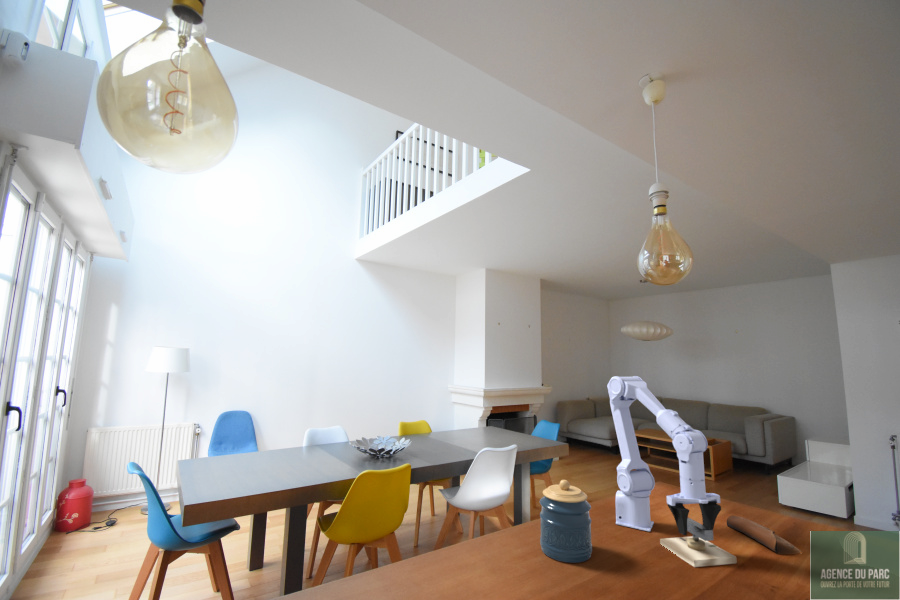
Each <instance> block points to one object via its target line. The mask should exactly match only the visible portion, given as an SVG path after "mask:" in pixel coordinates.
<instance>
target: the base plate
mask: <svg viewBox="0 0 900 600" xmlns="http://www.w3.org/2000/svg"><path fill="white" fill-rule="evenodd" d="M659 544H661V545H662V546H661V545H660V546H661V547H663V546H664V547H665V549H666V548H667V549H668V550H667V549H666V550H667V551H669V550H670V551H671V553H672V552H673V553H672V554H673V555H675V554H676V556H677V557H678V558H680V559H681V560H682V561H684V562H686V563H688V565H690V566H692V567H693V568H699V567H711V566H713V567H714V566H721V565H723V566H724V565H733V564H734V565H735V564H737V563H738V561H737V556H735V555H734V554H732V553H730V552H728V551H727V550H725V549H723V548H721V547H720V546H717V545H716V544H714V543H712V542H710V541H705V540H703V539H701V538H699V541H694V540H693V535H692V536H691V535H690V536H683V537H682V536H681V537H680V536H679V537H665V538H659ZM664 547H663V548H664ZM670 551H669V552H670Z"/></svg>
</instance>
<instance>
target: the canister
mask: <svg viewBox="0 0 900 600" xmlns="http://www.w3.org/2000/svg"><path fill="white" fill-rule="evenodd" d="M542 494H543V496H541V498H540V499H539V504H540V506H541V511H540V512H539V517H540V536H539V539H540V541H539V542H540V543H539V544H540V546H541V547H540V548H541V552H542V553H543V554H545V555H546V556H547V557H549V558H550V559H553V560H556V561H558V562H564V563H568V564H569V563H572V564H576V563H583V562H586V561H588V560H590V559H591V558H592V553H593V544H592V525H591V524H592V518H591V517H590V511H591V509H592V506H591V504H590V503H589V501H587V500H588V495H587V493H585V492H584V491H582V490H581V489H580V488H579V487H577V486H574V485H571V484H570V482H569V481H568V480H567V479H561V480H560V481H559V484H557V483H556V484H552V485H549V486H548V487H546V488H544V489H543V490H542Z"/></svg>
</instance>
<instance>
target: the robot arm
mask: <svg viewBox="0 0 900 600" xmlns="http://www.w3.org/2000/svg"><path fill="white" fill-rule="evenodd" d="M606 386H607V392H608V396H609V405H610V410H611V414H612V419H613V424H614V429H615V432H616V437H617V441H618V447H619V452H620V456H621V461H620V463H618V465H617V466H616V472H617V475H616V482H617V485H618V488H619V490H617V491H616V492H615V503H614V504H615V525H618V526H622V527H626V528H627V527H628V528H632V529H636V530H640V531H646V532H651V530H652V528H653V526H654V521H653V520H651V503H650V500H651V499H650V495H652V491H653V490H654V488H655V485H656V482H655V477H654V476H653V475H654V474H652V472H651V470H650V466H649V465H648V463H647V462H645V461H644V460H643V459H642V458H641V454H640V450H639V445H638V442H637V436H636V432H635V427H634V424H633V418H632V415H631V411H630V407H631V405H632V404H633V403H634V402H635V401H637V400H638V401H639V402H640V403H641V404H642V405H643V406H644V407H645V408H647V409H648V411H649V412H650V413H652V414H653V415H654V416H655V417H656V419H655V420H656V423H657V425H658V426H659V427H660V429H662V430H663V431H664V432H665V434H667V435H668V437H669V438H670V439H671V440H672V441H671V443H672V446H673V448H674V450H675V451H676V457H677V459H678V465H679V466H678V467H679V483H680V484H679V485H680V492H678V493H674V494H670V495H666V504H667V507H668V508H669V510H670V512H671V514H672V516H673V518H674V521H675V523H676V527H677V529H678V533H679V534H681V535H682V536H688V531H687V519H688V517H689V514H690V509H688V508H686V507H685V505H691V504H692V505H693V504H698V506H699V508H700V512H701V518H702V525H704V526H706V527H708V528H710V529H712V530H713V531H714V528H715V523H716V521H717V517H718V515H719V513H720V512H721V511H722V506H721V505H720V504H721V496H720V494H717V493H713V492H709V493H708V492H706V490H707V489H706V479H705V478H706V476H705V475H706V474H705V464H704V462H705V461H704V452H707V451H706V450H708V446H709V445H708V443H709V442H708V440H707V438H706V436H705V435H704V434H703V433H704V432H702V431H700V430H698V429H694V428H693V427H692V426H691V425H690V424H688V423H687V422H685V421H684V420H683V419H682V418H681V416H679V413H678V411H676V410H673V409H666V407H665V406H664V405H663V404H662V402H661V401H659V399H657V397H656V396H655V395H654V394H653V393H652V391H651V390H650V389H649V388H648V383H647V382H646V381H644V380H643V379H642V378H641V377H640V376H637V375H633V376H618V375H616V376H612V377H611V378H610V379H609V381H608V383H607V385H606Z"/></svg>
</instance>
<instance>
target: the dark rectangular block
mask: <svg viewBox="0 0 900 600" xmlns="http://www.w3.org/2000/svg"><path fill="white" fill-rule="evenodd" d="M687 533H690V534H692V536H693V540H694V541H699V538H701V539H703V540H705V541H709V542H710V541H714V540H715V539H714V529H713V530H712V529H710V528H708V527H706V526H704V525H703V523H700V522H698V521H696V520H694V519H692V518H690V517H689V516H688V519H687Z"/></svg>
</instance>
